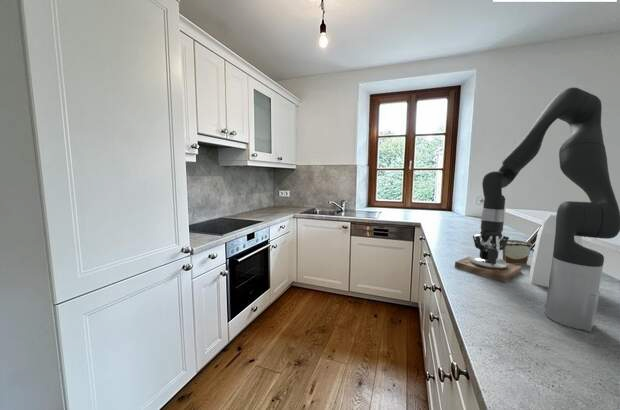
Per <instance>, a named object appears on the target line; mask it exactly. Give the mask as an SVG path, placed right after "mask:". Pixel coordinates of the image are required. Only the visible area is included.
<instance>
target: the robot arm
mask: <svg viewBox="0 0 620 410" xmlns="http://www.w3.org/2000/svg"><path fill="white" fill-rule="evenodd" d="M558 119H559V120H561V121H563V122H565V123H566V124H567V125H569V128H570V136H569V137H568V138H567V139H566V140H565V141H564V142H563V143H562V144H561V146H560V148H559V152H558V159H559V168H560V171H561V172H562V174H563V175H564V176H565V177H566V178H568V179H569V180H570V181H571V182H572V183H574V184H575V185H576V186H577V187H579V188H580V189H581V190H582V191H584V193H585V194H586V195H587V197H588V199H589V201H572V200H571V201H570V200H569V201H563V202H561V203H560V205H558V208H557V211H556V214H555V215H556V231H555V241H554V251H553V258H552V265H551V272H550V279H549V286H548V287H547V293H546V294H547V295H546V300H545V307H544V308H545V309H544V314H545V316H546V317H548V319H550V320H552V321H554V322H556V323H557V324H560V325H562V326H563V325H564V326H566V327H569V328H573V329H578V330H583V331H586V332H592V330H593V328H594V325H595V322H596V318H597V317H596V316H597V312H598V305H599V299H600V287H601V286H600V284H601V278H602V273H603V268H604V264H605V257H604V255H603V254H602V253H600V252H598V251H596V250H594V249H592V248H588V247H585V246H583V245H582V246H581V245H579V244H578V243H576V242H575V240H574V236H581V237H584V238H592V239H594V238H595V239H607V240H608V239H613V238H615V237H617V236H618V235H619V233H620V208H619V204H618V201H617V198H616V195H615V193H614V190H613V186H612V183H611V179H610V174H609V166H608V155H607V151H606V147H605V142H604V135H603V129H602V100H601V99H600V98H599V97H598V96H597V95H595V94H593V93H591V92H588V91H586V90H583V89H581V88H579V87H569V88H566V89H564V90H561V91H560V92H559V93H558V94H557V95H556V96H555V97H554V98H553V99H552V100H551V101H550V102H549V104H548V105H547V106H546V107H545V108H544V110H543V111H542V113H541V114H540V115H539V117H537V119H536V121H535V122H534V123H533V125H532V126H531V128H530V129H528V132H527V133H526V134H525V136H524V137H523V138H522V139H521V141H519V142H518V144H517V145H516V146H515V147H514V148H513V149H512V150H511V151H510V152H509V153H508V154H507V155H506V156H505V157H504V158H503V160H502V163H501V165H502V166H500V168H499V169H498V170H496V171H495V170H494V171H489V172H486V174H485V175H484V176H483V178H482V184H481V185H482V192H483V197H484V199H483V207H482V208H483V209H482V212H481V220H480V233H479V234H473V235H472V239H473V242H474V247H475V248H476V249H479V255H480V257H481V259H484V260H485V259H486V249H487V247H488V246H489V244H491V245H492V246H493V247H494V248H496V249H497V258H498V259H499V252H500V251H503V250H504V248H505V246H506V244H507V242H508V240H510V237H509V236H507V235H503V234H502V232H503V231H504V230H503V229H504V221H505V205H506V197H505V196H504V195H503V191H502V190H503V189H505V188H506V187H508V186H509V185H510V184H512V182H514V181H515V178H517V176H518V175H519V173H520V171H522V170H523V169H524V168H525V167H526V166H527V165H528V164H529V163H530V162H531V161H532V160H534V159H535V157H536V156H537V155H538V153H539V152H540V149H541V148H542V143H543V140H544V138H545V135H546V133H547V131H548V129H549V128H550V127H551V125H552V124H553V123H555V121H557V120H558ZM497 258H496V260H497Z"/></svg>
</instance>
